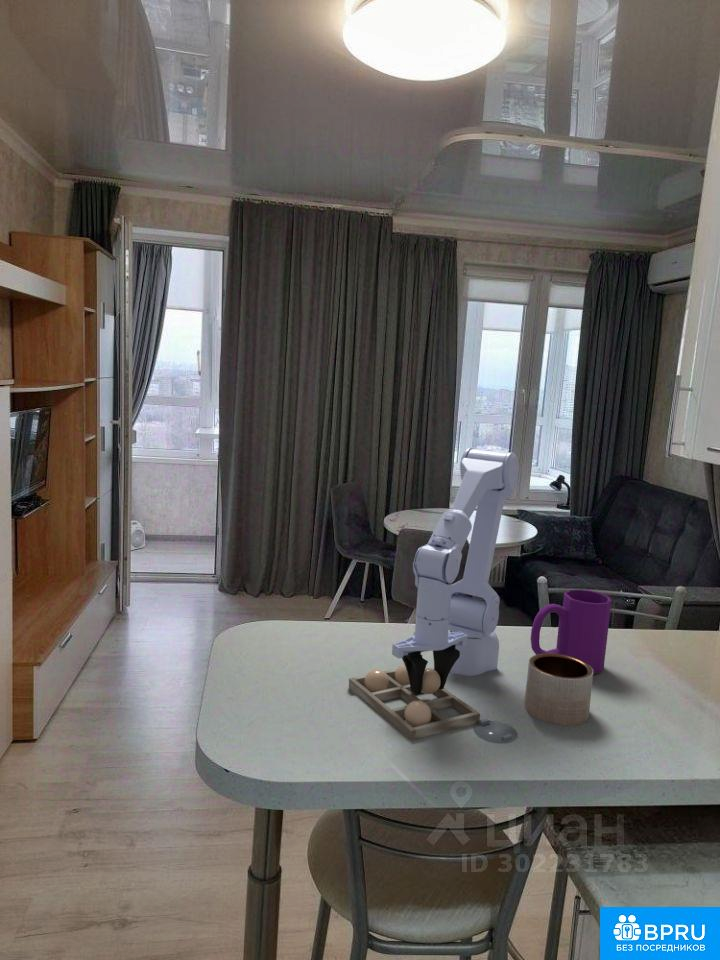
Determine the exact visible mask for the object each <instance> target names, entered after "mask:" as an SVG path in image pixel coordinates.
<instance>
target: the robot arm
mask: <svg viewBox="0 0 720 960" xmlns="http://www.w3.org/2000/svg"><path fill="white" fill-rule="evenodd" d="M459 463H460V464H459V470H460V471H459V472H460V479H461V483H460V486H459V488H458V490H457V493H456V495H455V498H454V501H453V504H452V507H451V509H450V510H447V511H445V512H443V513H441V515H440V518H439V520H438V522H437V524H436V526H435V528H434V530H433V532H432V534H431V536H430V538H429V540H428V542H427V544H424V545H422V546H420V547H419V548H418V549H417V550H416V552H415V555H414V559H413V562H412V570H413V574H414V581H415V582H414V584H415V587H416V588H417V594H416V595H417V596H416V609H415V610H416V611H415V624H414V625H415V626H414V632H413V635H412V636H410V637H408V638H406V639H403V640H401V641H398V642H393V643H392V646H391V650H392V651H391V655H393V656H394V657H395V658H397V659H399V660H400V659H402V662H403V664H405V667H406V669H407V673H408V677H409V682H410V688H411V691H412V692H414V693H415V694H414V695H415V696H416V695H421V694H422V692H421V690H422V681H423V675H424V671H425V668H427V665H428V663H429V661H428V660H426V658H423V654H422V653H424V652H425V653H426V652H430V651H432V654H433V669H434V670H435V671H437V673H438V674H439V676H440V679H441V684H440V687H439V689H444V688H445V685H446V683H447V680H448V677H449V675H450V674H452V675H461V676H467V677H468V676H469V677H471V676H473V677H474V676H479V675H482V674H483V673H484V674H485V673H487V672H492V671H495V670H498V663H499V651H500V641H499V638H498V635H497V633H496V632H495V630H496V628H497V626H498V622H499V618H500V609H499V608H500V596H499V595H498V593H497V592H496V591H495V590H494V589H493V587H492V586H491V585H490V582H489V581H490V575H491V571H492V570H491V569H492V565H493V561H494V554H495V550H496V545H497V544H496V543H497V540H498V534H499V528H500V524H501V520H502V514H503V509H504V506H505V503H506V500H508V499H510V498H513V497H514V493H515V491H516V486H517V481H518V476H519V469H520V465H519V458H518V456H517V455H516V453H515V452H513V451H512V452H504V451H503V452H502V451H494V450H487V449H486V450H485V449H476V448H474V447H467V449H466V450H465V451H464V452H463V453H462V455H461V459H460V462H459ZM475 510H476V512H475V516H474V522H473V525H472V522H471V520H470V518H471V517H472V515H473V513H474V511H475ZM471 531H472V533H471ZM470 533H471V536H470V540H469V541H470V542H469V545H468V546H469V547H468V551H467V557H466V562H465V567H464V571H463V576H462V579H460V580H458V581H456V582H455V583H454V581H455V580H456V578H457V577H458V575H459V571H460V566H461V561H462V558H463V554H462V550H463V548H464V546H465V545H466V544H465V543H466V541H467V539H468V537H469V535H470ZM466 595H470V596H474V597H479V598H481V599H478V598H474V597H470V596H466Z"/></svg>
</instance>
